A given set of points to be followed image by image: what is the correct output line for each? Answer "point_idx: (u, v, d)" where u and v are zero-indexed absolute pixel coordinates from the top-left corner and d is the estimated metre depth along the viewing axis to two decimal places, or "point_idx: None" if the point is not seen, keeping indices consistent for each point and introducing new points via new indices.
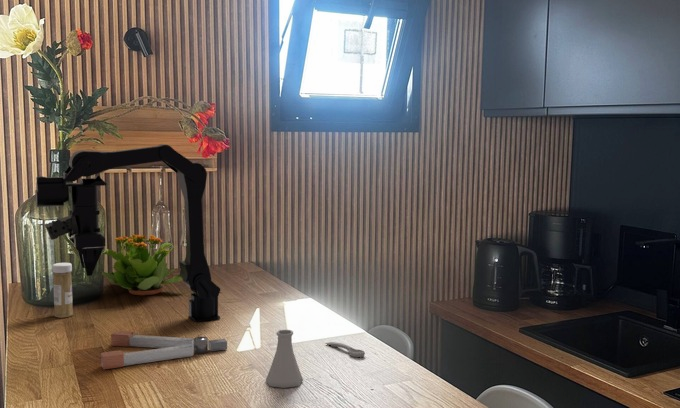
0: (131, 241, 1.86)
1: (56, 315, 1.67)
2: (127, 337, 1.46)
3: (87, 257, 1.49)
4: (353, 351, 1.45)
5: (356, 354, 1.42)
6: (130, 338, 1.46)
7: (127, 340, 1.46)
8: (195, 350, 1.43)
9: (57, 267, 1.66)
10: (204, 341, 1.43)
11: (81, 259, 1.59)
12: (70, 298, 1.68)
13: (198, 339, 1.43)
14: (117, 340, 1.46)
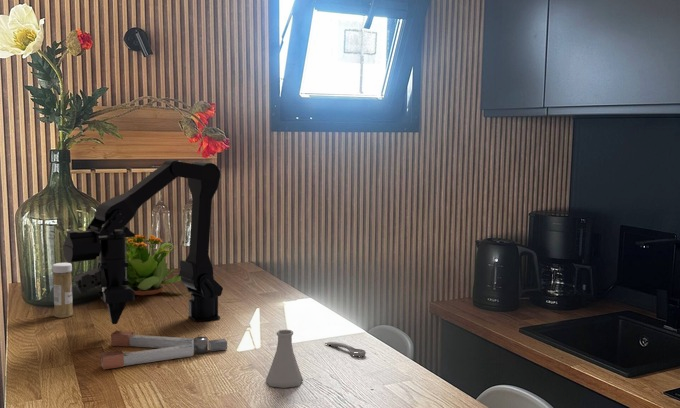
0: (131, 241, 1.86)
1: (56, 315, 1.67)
2: (127, 337, 1.46)
3: (113, 306, 1.52)
4: (354, 351, 1.46)
5: (357, 354, 1.43)
6: (130, 338, 1.46)
7: (127, 340, 1.46)
8: (195, 350, 1.43)
9: (57, 267, 1.66)
10: (204, 341, 1.43)
11: None
12: (70, 298, 1.68)
13: (198, 339, 1.43)
14: (117, 340, 1.46)
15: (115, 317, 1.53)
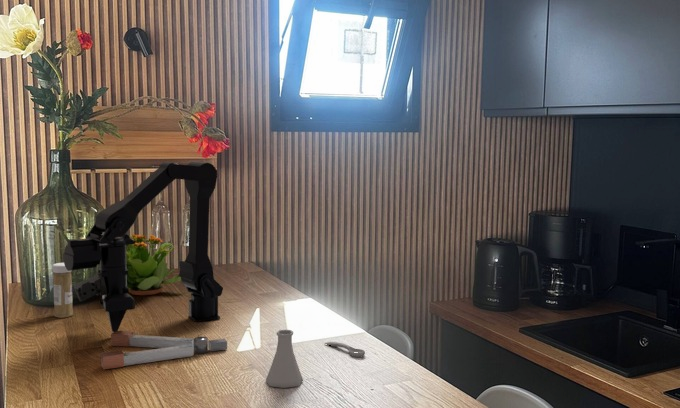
0: None
1: (56, 315, 1.67)
2: (127, 337, 1.46)
3: (113, 314, 1.52)
4: (353, 351, 1.45)
5: (356, 354, 1.43)
6: (130, 338, 1.46)
7: (127, 340, 1.46)
8: (195, 350, 1.43)
9: (57, 267, 1.66)
10: (204, 341, 1.43)
11: None
12: (70, 298, 1.68)
13: (198, 339, 1.43)
14: (117, 340, 1.46)
15: (115, 325, 1.53)
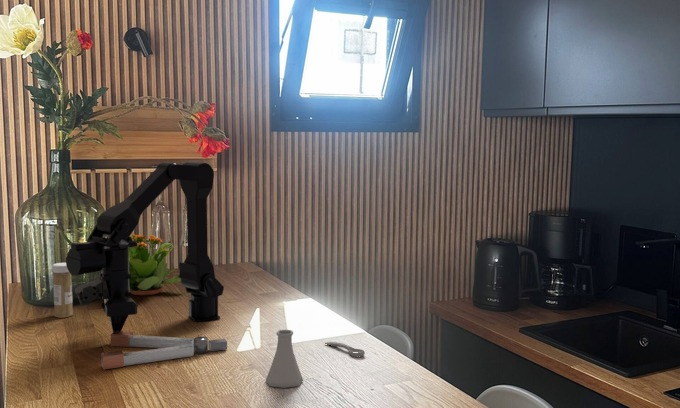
0: None
1: (56, 315, 1.67)
2: (127, 337, 1.46)
3: (115, 318, 1.48)
4: (353, 351, 1.45)
5: (356, 353, 1.43)
6: (130, 338, 1.46)
7: (127, 340, 1.46)
8: (195, 350, 1.43)
9: (57, 267, 1.66)
10: (204, 341, 1.43)
11: None
12: (70, 298, 1.68)
13: (198, 339, 1.43)
14: (117, 340, 1.46)
15: (117, 329, 1.49)
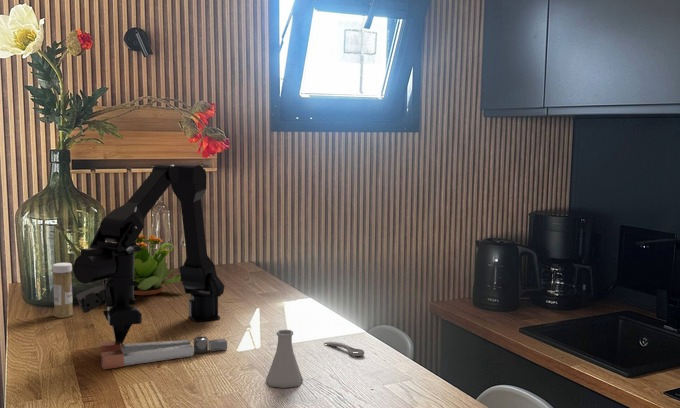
0: None
1: (56, 315, 1.67)
2: (119, 347, 1.40)
3: (118, 327, 1.41)
4: (352, 351, 1.46)
5: (356, 353, 1.43)
6: (122, 348, 1.40)
7: None
8: (197, 350, 1.43)
9: (57, 267, 1.66)
10: (206, 340, 1.43)
11: None
12: (70, 298, 1.68)
13: (199, 339, 1.43)
14: (108, 351, 1.39)
15: (120, 338, 1.42)
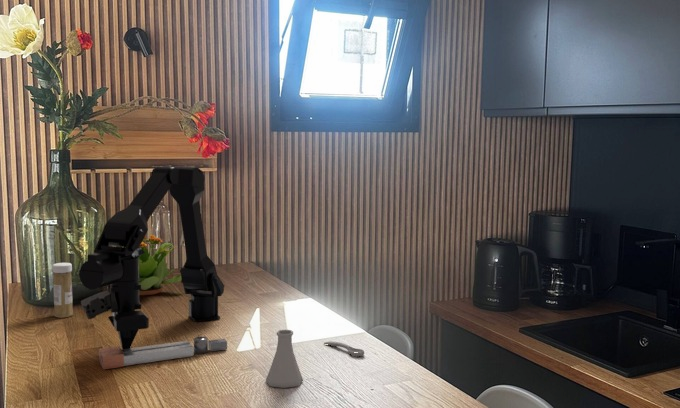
0: None
1: (56, 315, 1.67)
2: None
3: (124, 333, 1.38)
4: (352, 351, 1.46)
5: (356, 353, 1.43)
6: None
7: None
8: (199, 351, 1.43)
9: (57, 267, 1.66)
10: (207, 340, 1.44)
11: None
12: (70, 298, 1.68)
13: (200, 339, 1.43)
14: None
15: (126, 344, 1.39)
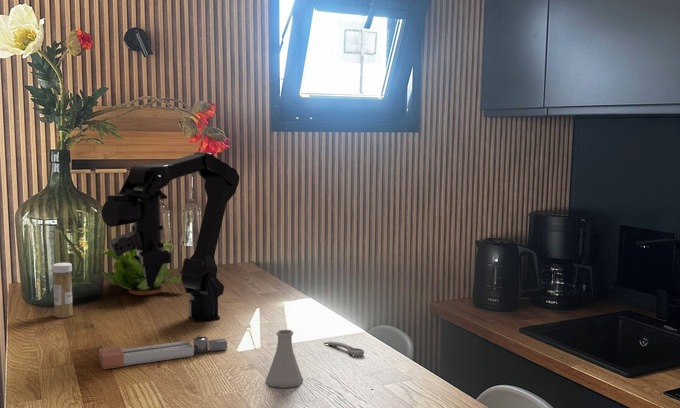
0: None
1: (56, 315, 1.67)
2: None
3: (148, 269, 1.52)
4: (352, 350, 1.46)
5: (356, 353, 1.43)
6: None
7: None
8: (199, 351, 1.43)
9: (57, 267, 1.66)
10: (207, 340, 1.44)
11: None
12: (70, 298, 1.68)
13: (200, 339, 1.43)
14: None
15: (151, 280, 1.53)
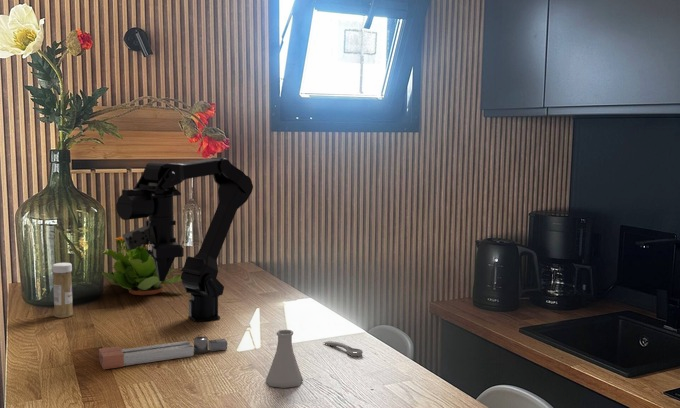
0: None
1: (56, 315, 1.67)
2: None
3: (161, 263, 1.56)
4: (351, 350, 1.46)
5: (354, 353, 1.43)
6: None
7: None
8: (199, 351, 1.43)
9: (57, 267, 1.66)
10: (207, 340, 1.44)
11: None
12: (70, 298, 1.68)
13: (200, 339, 1.43)
14: None
15: (162, 274, 1.57)
